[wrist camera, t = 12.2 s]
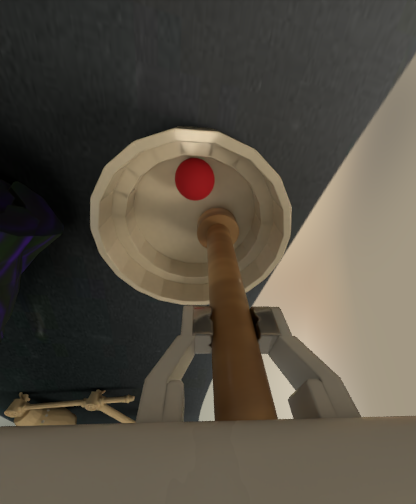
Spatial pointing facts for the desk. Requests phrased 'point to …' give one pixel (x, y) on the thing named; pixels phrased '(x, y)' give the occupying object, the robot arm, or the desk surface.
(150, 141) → the bowl
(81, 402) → the desk lamp
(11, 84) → the desk surface
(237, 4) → the desk surface
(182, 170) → the berry
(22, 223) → the decorative plant
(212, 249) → the wooden pestle
